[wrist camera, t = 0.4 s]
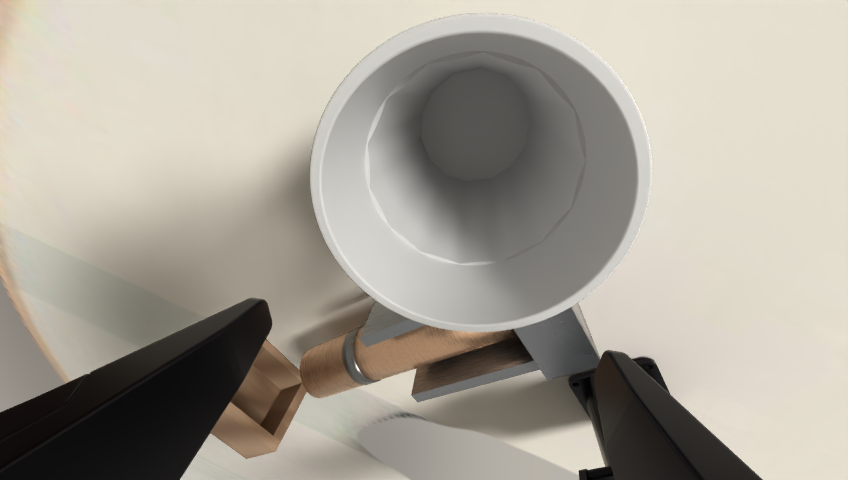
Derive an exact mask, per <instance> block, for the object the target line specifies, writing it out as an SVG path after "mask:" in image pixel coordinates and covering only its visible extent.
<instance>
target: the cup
mask: <svg viewBox="0 0 848 480" xmlns="http://www.w3.org/2000/svg"><path fill="white" fill-rule="evenodd" d="M651 183H652V157H651V149H650V142H649V138H648V133H647V130H646V126H645V123H644V120H643V118H642V115H641V113H640V110H639V108H638V106H637V104H636V102H635V100H634V98H633V96H632V94H631V93H630V91H629V90H628V88H627V86H626V85H625V83H624V82H623V81H622V80H621V78H620V77H619V76H618V74H617V73H616V72H615V71H614V70H613V69H612V68H611V66H610V65H609V64H608V63H607V62H606V61H605V60H604V59H603V58H601V57H600V56H599V55H598V54H597V53H596V52H595V51H593V50H592V49H591V48H589V47H588V46H587V45H585V44H584V43H582V42H581V41H579V40H578V39H576V38H574V37H573V36H571V35H569V34H567V33H565V32H563V31H561V30H559V29H557V28H555V27H552V26H550V25H547V24H545V23H542V22H539V21H535V20H532V19H528V18H524V17H519V16H514V15H507V14H498V13H471V14H461V15H454V16H448V17H444V18H439V19H435V20H432V21H429V22H426V23H423V24H420V25H417V26H415V27H412V28H410V29H408V30H406V31H404V32H402V33H400V34H398V35H396V36H394V37H392V38H391V39H389V40H387V41H386V42H384V43H383V44H381V45H380V46H378V47H377V48H376V49H374V50H373V51H372V52H370V53H369V54H368V55H367V56H366V57H365V58H363V59H362V60H361V61H360V62H359V63H358V64H357V65H356V66H355V67H354V68H353V69H352V70H351V71H350V73H349V74H348V75H347V76H346V77H345V78H344V80H343V81H342V82H341V84H340V85H339V86H338V88H337V89H336V91H335V92H334V94H333V96H332V97H331V99H330V101H329V103H328V104H327V106H326V108H325V110H324V112H323V115H322V117H321V120H320V122H319V125H318V128H317V131H316V134H315V138H314V142H313V147H312V153H311V160H310V190H311V198H312V204H313V209H314V213H315V216H316V220H317V223H318V226H319V228H320V231H321V233H322V236H323V238H324V240H325V242H326V244H327V246H328V248H329V250H330V251H331V253H332V255H333V256H334V258H335V259H336V261H337V262H338V263H339V265H340V266H341V267H342V269H343V270H344V271H345V272H346V274H347V275H348V276H349V277H350V278H351V279H352V280H353V281H354V282H355V283H356V284H357V285H358V286H359V287H360V288H361V289H362V290H363V291H365V292H366V293H367V294H368V295H369V296H371V297H372V298H373V299H375V300H376V301H378V302H379V303H380V304H382V305H384V306H385V307H387V308H389V309H390V310H392V311H394V312H396V313H398V314H400V315H402V316H404V317H406V318H409V319H411V320H414V321H416V322H419V323H422V324H426V325H429V326H433V327H437V328H441V329H446V330H453V331H462V332H495V331H503V330H510V329H515V328H520V327H524V326H527V325H531V324H534V323H537V322H540V321H543V320H545V319H548V318H550V317H552V316H555V315H557V314H559V313H561V312H563V311H565V310H566V309H568V308H570V307H572V306H573V305H575V304H576V303H578V302H580V301H581V300H582V299H584V298H585V297H587V296H588V295H589V294H591V293H592V292H593V291H594V290H595V289H597V288H598V287H599V286H600V285H601V284H602V283H603V282H604V281H605V280H606V279H607V278H608V277H609V276H610V275H611V274H612V273H613V271H614V270H615V269H616V268H617V267H618V265H619V264H620V263H621V261H622V260H623V259H624V257H625V256H626V254H627V253H628V251H629V249H630V248H631V246H632V244H633V243H634V241H635V239H636V237H637V235H638V232H639V230H640V228H641V225H642V223H643V220H644V217H645V214H646V210H647V207H648V202H649V197H650V191H651Z"/></svg>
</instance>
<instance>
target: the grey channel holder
mask: <svg viewBox="0 0 848 480" xmlns="http://www.w3.org/2000/svg"><path fill="white" fill-rule="evenodd" d="M425 325H426V324H422V323H419V322H416V321H414V320H411V319H409V318H406V317H404V316H402V315H400V314H398V313H396V312H394V311H392V310H390V309H389V308H387V307H385V306H384V305H382V304H380V303H379V302H378V301H376V300H375V303H374V305H373V307H372V310H371V312H370V314H369V317H368V319H367V321H366V324H365V326H364V328H363V331H362V333H361V335H360V338H359V339H360V340H361V341H362V343H363V344H364V345H365V346H366V347H369V346H372V345H374V344H377V343H380V342H382V341H385V340H388V339H390V338H393V337H396V336H398V335H401V334H403V333H406V332H409V331H411V330H414V329H417V328H419V327H422V326H425ZM514 331H515V332H516V334H517V335H518V336H516V337H513V338H510V339H507V340H504V341H501V342H497V343H494V344H491V345H488V346H485V347H482V348H479V349H475V350H472V351H469V352H466V353H463V354H460V355H457V356H453V357H450V358H447V359H444V360H441V361H438V362H435V363H431V364H428V365H425V366H422V367H419V368H417V370H416V375H415V380H414V384H413V389H412V394H411V395H412V397H413V398H414V399H415V400H416V401H417V402H420V401H424V400H428V399H432V398H435V397H439V396H443V395H447V394H450V393H454V392H458V391H461V390H465V389H469V388H473V387H476V386H480V385H484V384H488V383H491V382H495V381H499V380H503V379H506V378H510V377H514V376H517V375H521V374H525V373H529V372H532V371H536V370H541V371H542V373H543V374H544V376H545V377H546V379H547V380H550V379H554V378H558V377H562V376H566V375H570V374H574V373H578V372H582V371H585V370H589V369H593V368H597V366H598V364H599V362H600V356H599V354H598V351H597V349H596V346H595V344H594V341H593V339H592V336H591V334H590V331H589V329H588V326H587V324H586V321H585V319H584V316H583V314H582V311H581V309H580V306H579V304H578V303H576V304H575V305H573V306H572V307H570V308H568V309H566V310H565V311H563V312H561V313H559V314H557V315H555V316H552V317H550V318H548V319H545V320H543V321H540V322H537V323H534V324H531V325H527V326H524V327H520V328H515V329H514Z"/></svg>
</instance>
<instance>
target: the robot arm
mask: <svg viewBox="0 0 848 480" xmlns="http://www.w3.org/2000/svg"><path fill="white" fill-rule="evenodd" d="M271 327H272V319H271V315H270V311H269V308H268V304H267V302H266V301H265V300H263V299H257V298H249V299H247V300H245V301H243V302H240V303H238V304H236V305H234V306H232V307H230V308H228V309H225V310H223V311H221V312H219V313H217V314H215V315H213V316H210V317H208V318H206V319H204V320H202V321H200V322H197V323H195V324H193V325H191V326H189V327H187V328H185V329H182V330H180V331H178V332H176V333H174V334H172V335H169V336H167V337H165V338H163V339H161V340H159V341H157V342H154V343H152V344H150V345H148V346H146V347H144V348H141V349H139V350H137V351H135V352H133V353H131V354H129V355H126V356H124V357H122V358H120V359H118V360H116V361H113V362H111V363H109V364H107V365H105V366H103V367H101V368H98V369H96V370H94V371H92V372H91V373H90V374H85V375H83V376H81V377H79V378H77V379H75V380H73V381H70V382H68V383H66V384H64V385H62V386H59V387H57V388H55V389H53V390H51V391H48V392H46V393H44V394H42V395H40V396H38V397H35V398H33V399H31V400H28V401H26V402H24V403H21V404H19V405H17V406H14V407H12V408H9V409H7V410H5V411H3V412H0V480H180V478H181V477H182V475H183V474H184V472H185V471H186V469H187V468H188V466H189V465H190V463H191V462H192V460H193V458H194V457H195V455H196V454H197V452H198V451H199V449H200V448H201V446H202V445H203V443H204V442H205V440H206V438H207V437H208V435H209V434H210V432H211V431H212V429H213V428H214V426H215V425H216V423H217V421H218V420H219V418H220V417H221V415H222V414H223V412H224V411H225V409H226V408H227V406H228V405H229V403H230V401H231V400H232V398H233V397H234V395H235V394H236V392H237V391H238V389H239V388H240V386H241V384H242V383H243V381H244V379H245V378H246V376H247V374H248V372H249V370H250V369H251V367H252V365H253V363H254V361H255V359H256V357H257V355H258V353H259V351H260V349H261V347H262V345H263V344H264V342H265V340H266V338H267V336H268V334H269V332H270V330H271ZM568 381H569V385H570V387H571V389H572V390H573V392H574V394H575V395H576V397H577V398H578V400H579V401H580V403H581V405H582V406H583V408H584V409H585V411H586V413H587V414H588V416H589V417H590V419H591V421H592V425H593V428H594V431H595V434H596V438H597V441H598V444H599V447H600V451H601V454H602V457H603V461H604V464H605V467H602V468H596V469H591V470H587V469H583V470H579V479H580V480H763V479H761V478H760V477H759V476H758V475H757V474H756V473H755V472H754V471H753V470H752V469H751V468H749V467H748V466H747V465H746V464H745V463H744V462H743V461H742V460H741V459H740V458H739V457H738V456H736V455H735V454H734V453H733V452H732V451H731V450H730V449H729V448H728V447H727V446H726V445H724V444H723V443H722V442H721V441H720V440H719V439H718V438H717V437H716V436H715V435H714V434H712V433H711V432H710V431H709V430H708V429H707V428H706V427H705V426H704V425H703V424H702V423H701V422H699V421H698V420H697V419H696V418H695V417H694V416H693V415H692V414H691V413H690V412H689V411H687V410H686V409H685V408H684V407H683V406H682V405H681V404H680V403H679V402H678V401H677V400H675V399H674V398H673V397H672V396H671V395H670V393H669V391H668V388H667V386H666V384H665V382H664V380H663V378H662V375H661V373H660V371H659V369H658V367H657V365H656V363H655V361H654V360H653V359H651V358H646V359H641V360H637V361H633V360H632V359H631V358H630V357H629V356H628V355H626V354H625V353H623V352H617V351H611V350H606V351H605V352H604V353H603V355H602V357H601V359H600V362H599V364H598V366H597V368H596V371H593V372H589V373H585V374H581V375H577V376H573V377H570V378H569V380H568Z"/></svg>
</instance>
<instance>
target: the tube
mask: <svg viewBox="0 0 848 480" xmlns="http://www.w3.org/2000/svg"><path fill="white" fill-rule="evenodd" d="M363 328H364V326H362V327H360V328H357V329H355V330H352V331H351V332H349V333H347V334H344V335H342V336H339V337H337V338H335V339H332V340H330V341H327V342H325V343H322V344H320V345H318V346H315V347H313V348H311V349H309V350H308V351H307V352H306V353H305V354H304V356H303V358H302V361H301V364H300V378H301V381H302V384H303V386H304V388H305V390H306V391H307V392H308V393H309V394H310V395H312V396H313V397H316V398H324V397H328V396H331V395H334V394H337V393H340V392H343V391H346V390H350V389H353V388H356V387H359V386H362V385H368V384H371V383H374V382H377V381H380V380H381V379H384V378H387V377H391V376H394V375H397V374H400V373H403V372H406V371H409V370H413V369H416V368H419V367H422V366H425V365H428V364H431V363H435V362H438V361H441V360H444V359H447V358H450V357H453V356H457V355H460V354H463V353H466V352H469V351H472V350H475V349H479V348H482V347H485V346H488V345H491V344H494V343H497V342H501V341H504V340H507V339H510V338H513V337H516V336H518V335H517V334H516V332H515V331H514V329H510V330H503V331H495V332H462V331H453V330H446V329H441V328H437V327H433V326H429V325H425V326H422V327H419V328H417V329H414V330H411V331H409V332H406V333H403V334H401V335H398V336H396V337H393V338H390V339H388V340H385V341H382V342H380V343H377V344H374V345H372V346H369V347H366V346H365V345H364V344H363V343H362V341H361V340H360V339H359V338H360V335H361V333H362V331H363Z"/></svg>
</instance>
